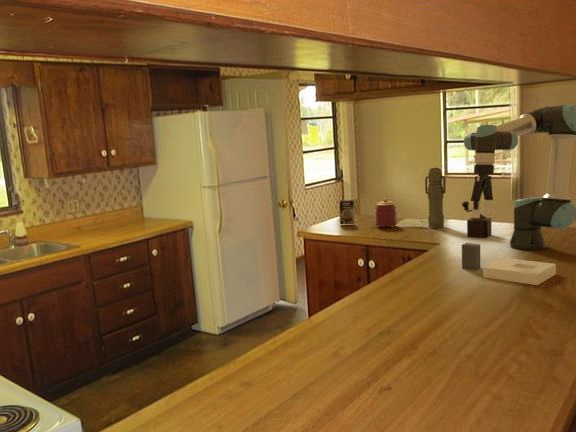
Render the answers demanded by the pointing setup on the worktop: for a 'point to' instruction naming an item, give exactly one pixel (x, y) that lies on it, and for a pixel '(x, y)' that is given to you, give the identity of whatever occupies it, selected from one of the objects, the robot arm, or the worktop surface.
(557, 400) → the worktop surface
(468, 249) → the plug
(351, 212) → the coffee box
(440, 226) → the thermos
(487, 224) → the manual coffee grinder
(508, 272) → the socket plate
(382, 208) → the canister
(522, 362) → the worktop surface
